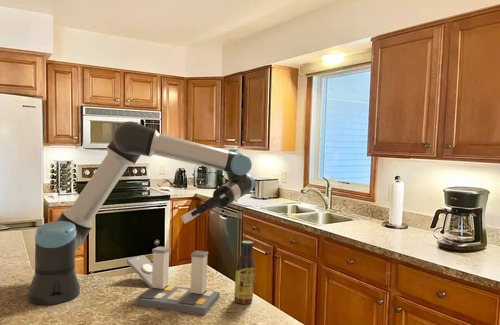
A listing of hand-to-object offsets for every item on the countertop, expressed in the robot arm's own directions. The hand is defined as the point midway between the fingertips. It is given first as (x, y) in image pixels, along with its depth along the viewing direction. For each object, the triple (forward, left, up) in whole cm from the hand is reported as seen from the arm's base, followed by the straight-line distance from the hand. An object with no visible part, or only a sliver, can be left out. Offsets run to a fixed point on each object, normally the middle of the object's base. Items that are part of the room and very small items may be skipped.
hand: (183, 219), depth 123 cm
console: (0, -2, -27) cm, 27 cm away
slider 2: (+5, +2, -24) cm, 25 cm away
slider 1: (-9, +2, -24) cm, 26 cm away
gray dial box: (-19, +12, -27) cm, 35 cm away
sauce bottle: (+20, +5, -27) cm, 34 cm away
